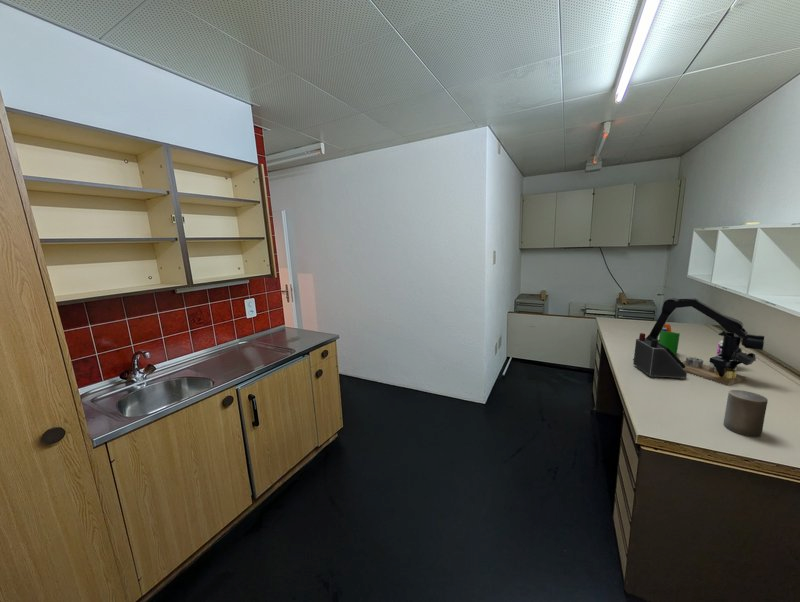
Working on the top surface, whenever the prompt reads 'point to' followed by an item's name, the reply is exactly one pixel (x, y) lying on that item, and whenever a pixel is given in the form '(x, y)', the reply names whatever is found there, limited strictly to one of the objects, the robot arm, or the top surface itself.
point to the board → (712, 374)
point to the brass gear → (728, 374)
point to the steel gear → (694, 363)
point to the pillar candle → (745, 413)
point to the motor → (669, 338)
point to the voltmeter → (657, 359)
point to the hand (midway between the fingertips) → (725, 375)
